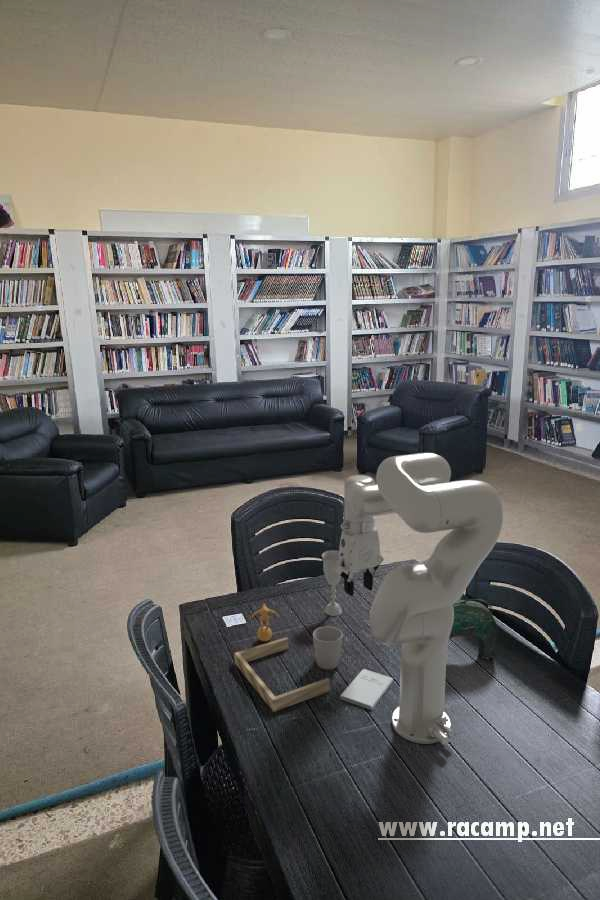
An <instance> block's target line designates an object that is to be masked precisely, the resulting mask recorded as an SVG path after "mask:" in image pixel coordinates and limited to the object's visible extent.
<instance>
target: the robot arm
mask: <svg viewBox="0 0 600 900" xmlns="http://www.w3.org/2000/svg"><path fill="white" fill-rule="evenodd" d="M451 469H452V468H451V467H450V464H449V462H448V461H447V460H446V459H445V458H444V457H443V456H442V455H439V454H436V453H434V452H418V453H410V454H402V455H394V456H389V457H387V458H385V459H384V460H383V461H382V462H381V463H380V464H379V466H378V467H377V471H376V476H375V480H376V481H375V480H374V479H373V478H372V477H371V476H368V475H363V474H356V475H351V476H350V475H349V476H348V477H347V478H346V479H345V481H344V487H343V489H344V492H343V493H344V496H343V497H344V498H343V499H344V501H343V502H344V505H343V506H344V507H343V508H344V510H343V511H344V512H343V513H344V518H343V523H341V524H340V529H341V530H342V531H341V535H340V541H339V550H338V551H339V561H338V562H337V564H336V565H335V567H334V569H333V571H334V572H336V573H337V574H339V575H340V576H341V578H342V579H343V590H344V592H345V593H346V594H348V595H349V597H353V596H354V593H355V591H354V587H355V585H354V584H355V582H354V580H353V577H354V573H356V572H360V571H364V570H365V571H364V572H363V573H362V574H363V580H362V581H363V587H364V588H365V589H367V590H369V591H370V592H371V591H372V590H373V585H374V576H375V575H376V571H377V570H378V568H379V566H380V565H381V564H382V563H383V562H384V560H385V558H384V557H383V556H382V554H381V547H380V546H381V545H380V544H381V543H380V538H379V532H378V529H377V527H375V518H376V517H380V516H385V515H392V514H397V515H398V516H399V518H400V519H402V520H403V522H404V523H405V524H406V525H407V526H408V527H409V528H410V529H412V530H413V531H415V532H417V533H419V534H420V533H421V534H430V533H431V534H432V533H436V532H441V531H449V530H451V531H449V532H448V533H447V534H445V535H444V536H443V537H442V538H441V539H440V540H439V542H438V543H437V545H436V546H435V548H434V550H433V552H432V553H431V555H430V557H429V558H428V559H425V560H423V561H418V562H414V563H408V564H404V565H399V566H396V567H394V568H392V569H391V570H389V571H388V572H387V573H386V574H385V576H384V578H383V579H382V581H381V584H380V586H379V588H378V590H377V591H376V592H377V593H376V595H375V597H374V599H373V603H372V604H371V606H370V611H369V612H370V613H369V627H370V630H371V633H372V635H373V637H374V638H375V640H377V642H379V643H380V644H382V645H384V646H397V645H402V646H401V650H400V651H401V652H400V669H399V670H400V673H399V674H400V675H399V703H398V705H399V706H397V707H396V708H395V709H394V710H393V712H392V714H391V715H392V716H391V724H392V729H394V731H395V732H396V734H398V735H399V736H400V737H402V738H403V739H405V740H407V741H408V742H412V743H415V744H421V745H429V744H430V745H431V744H436V743H438V742H439V743H440V744H441V745H442V746H447V745H448V744H449V742H450V737H452V736H453V735H454V733H455V732H454V730H453V729H452V728H451V726H452V724H451V720H450V718H449V716H448V715H447V713H446V712H445V694H446V679H447V678H446V677H447V674H446V673H447V661H448V648H449V647H448V646H449V641H450V639H449V637H450V633H451V629H452V626H453V621H454V608H453V605H454V604H455V603H456V602H457V601H459V600H460V599H461V597H462V595H463V594H464V593H465V591H466V589H467V588H468V587H469V585H470V583H471V581H472V579H473V578H474V577H475V575H476V572H477V570H478V569H479V567H480V566H481V565H482V563H483V562H484V560H486V558H487V557H488V555H489V554H490V553H491V551H492V550H493V548H494V546H495V545H496V543H497V541H498V540H499V537H500V534H501V533H502V532H501V531H502V527H503V521H504V519H503V518H504V517H503V516H504V510H503V504H502V499H501V497H500V495H499V493H498V491H497V490H496V488H495V487H494V486H492V485H491V484H490V483H488V482H485V481H482V480H476V479H475V480H474V479H462V480H454V481H450V480H451V476H452V470H451ZM375 482H376V483H375ZM342 567H343V571H342V570H341V569H342Z"/></svg>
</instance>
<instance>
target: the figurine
mask: <svg viewBox="0 0 600 900" xmlns="http://www.w3.org/2000/svg"><path fill="white" fill-rule="evenodd" d="M269 613H272V614H275V615H276V616H277V618H279V619H281V617H280V614H278V613H277V612H276V611H275V610H273V609H270V608H268V606H267V605H266V603H263V604H262V606H261V608H260V609H258V610H257V611H255V612H253V613H252V614H251V615H250V617H249V619H248V621H250V620H251V619H252V618H253V617H254V616H255V615H257V614H260V615H261V616H259V618H258V619H259V622H260V623H259V624H260V627H259V628H258V630H257V633H256V634H257V635H256V636H257V638H258V640H260V642H266V643H267V642H268V641H270V640H271V639H272V636H273V631H272V629H271V628H270V627H269V625H270V622H269V621H270V616H269V615H268V614H269ZM263 621H266V624H265V625H266V626H265V625H264V623H263ZM263 625H264V626H263Z"/></svg>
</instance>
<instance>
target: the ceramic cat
mask: <svg viewBox="0 0 600 900" xmlns="http://www.w3.org/2000/svg"><path fill="white" fill-rule="evenodd" d="M482 603H484V604H486V605H487V606H489V608H490V610H489V608H488V607H486V606H485V605H484V604H482ZM453 608H454V621H453V626H452V629H451V633H450V637H449V640H450V639H452V638H455V637H459V636H460V637H461V636H471V637H473V638H475V639H476V640H477V641H478V650H477V651H478V652H479V653H478V654H480V655H479V656H480V658H481V657H483V658H492V657H493V658H494V655H495V651H496V650H495V649H496V646H497V643H498V634H499V633H498V624H497V622H496V621H495V618H494V616H493V614H494V610H493V607H492V605H491V604H490V603H489V602H488V601H487V600H483V599H478V598H470V599H463V600H462V599H461V600H460V599H459V600H458V601H457V602H456V603H455V604H454V605H453ZM493 658H492V659H493Z"/></svg>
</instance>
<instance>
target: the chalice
mask: <svg viewBox="0 0 600 900" xmlns="http://www.w3.org/2000/svg"><path fill="white" fill-rule="evenodd" d="M321 558H322V559H323V560H322V562H323V568H322V569H323V574H324V576H325V578H326V579H325V580H326V581H327V583H328V585H330V586H331V589H330V593H331V595H330V598H331V602H329V603H328V604H327V606H326V608H325V610H324V613H325V614H326V615H328V616H330V617H331V616H332V617H334V616H335V617H336V616H340V615H341V614H342V613H343V610H342V609H341V605H340V604H339V603H338V602H336V598H337V595H336V592H337V590H336V586H337V585H338V584H339V582H340V580H341V578H342V577H341V576H340V575H339V574H337V573H336V572H334V571H333V569H334V567H335V565H336V564H337V562H338V561H339V550H336V549H335V550H334V549H331V550H326V551H323V553H322V554H321ZM341 570H342V571H343V570H344V567H342V569H341Z"/></svg>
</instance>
